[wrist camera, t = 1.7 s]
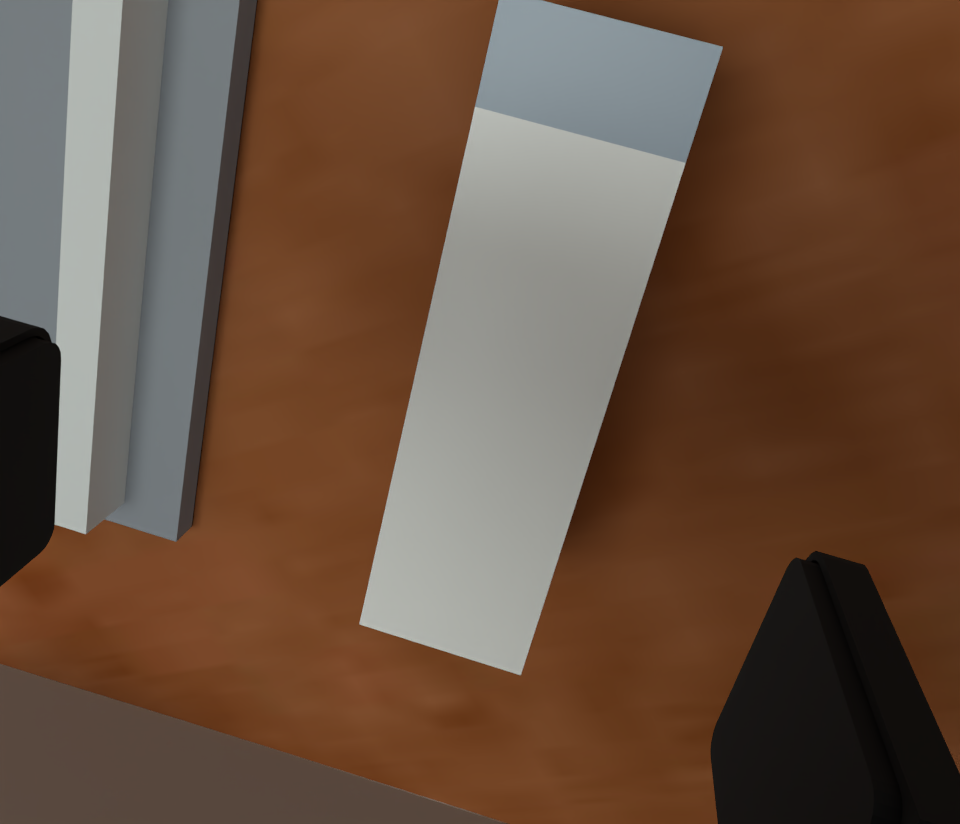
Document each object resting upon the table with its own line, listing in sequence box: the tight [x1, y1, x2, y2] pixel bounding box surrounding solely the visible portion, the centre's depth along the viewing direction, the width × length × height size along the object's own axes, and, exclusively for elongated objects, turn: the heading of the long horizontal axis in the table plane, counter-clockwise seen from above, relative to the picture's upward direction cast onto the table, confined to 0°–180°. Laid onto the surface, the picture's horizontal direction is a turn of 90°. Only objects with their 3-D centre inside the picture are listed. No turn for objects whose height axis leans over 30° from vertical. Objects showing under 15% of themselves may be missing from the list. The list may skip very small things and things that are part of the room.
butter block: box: [360, 0, 723, 675], centre depth 21 cm, size 14×4×6 cm, turn 167°
